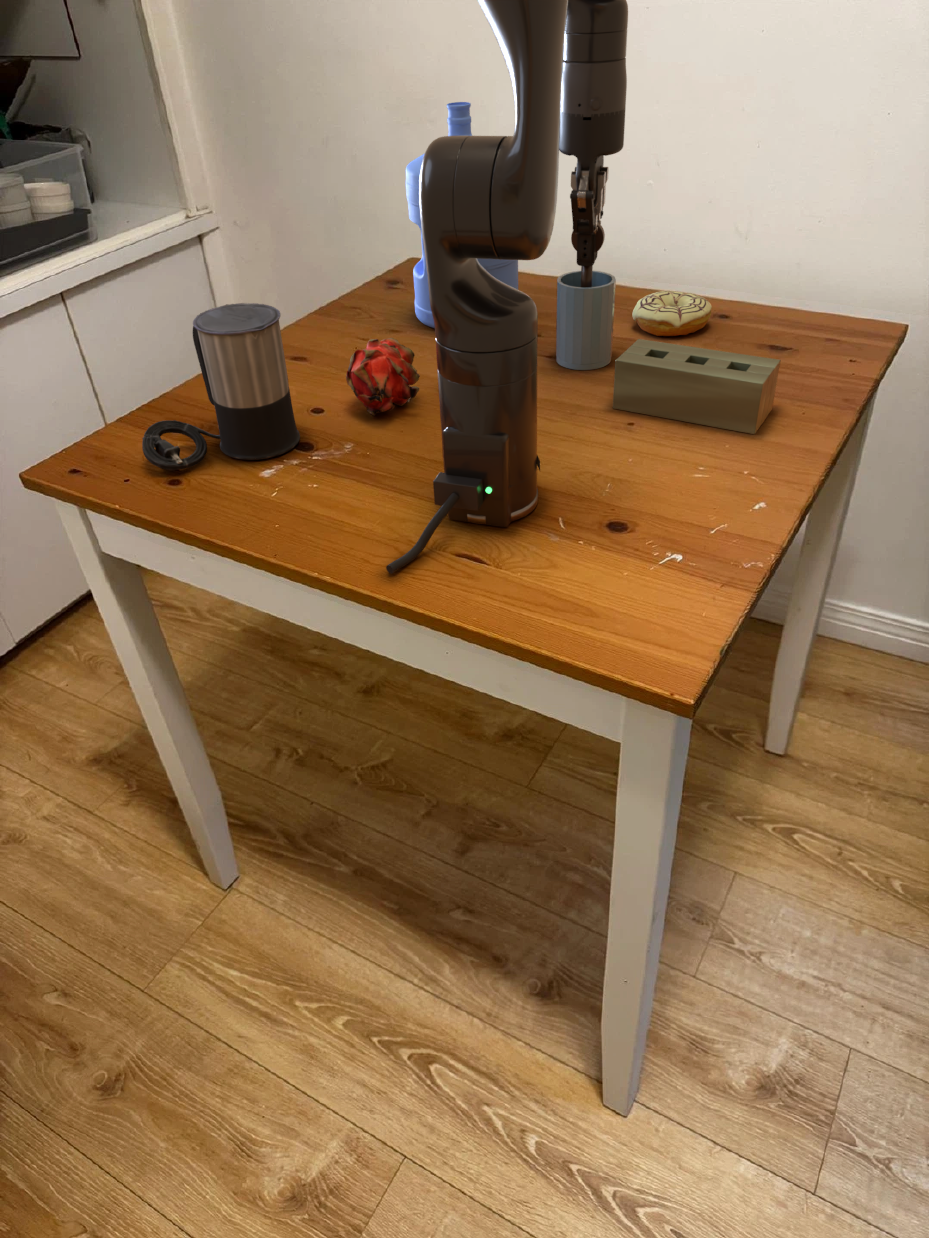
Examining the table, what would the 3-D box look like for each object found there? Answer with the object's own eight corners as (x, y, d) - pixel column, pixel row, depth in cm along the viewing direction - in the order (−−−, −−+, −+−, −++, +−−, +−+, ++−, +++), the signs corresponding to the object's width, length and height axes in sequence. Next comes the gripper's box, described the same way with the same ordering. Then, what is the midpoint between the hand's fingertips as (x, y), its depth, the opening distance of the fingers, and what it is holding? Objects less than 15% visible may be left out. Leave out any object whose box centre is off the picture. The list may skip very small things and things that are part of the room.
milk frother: (317, 435, 107) (298, 308, 98) (225, 495, 96) (193, 359, 87) (226, 413, 113) (200, 292, 104) (130, 467, 102) (92, 338, 93)
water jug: (538, 306, 139) (539, 97, 122) (484, 340, 129) (478, 116, 112) (452, 293, 146) (441, 93, 129) (395, 324, 136) (375, 111, 119)
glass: (604, 372, 118) (608, 290, 112) (549, 367, 120) (550, 286, 114) (616, 352, 123) (621, 272, 117) (563, 347, 125) (565, 269, 119)
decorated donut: (618, 330, 130) (620, 303, 127) (658, 308, 136) (660, 282, 134) (683, 344, 124) (686, 317, 122) (721, 321, 130) (725, 295, 128)
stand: (754, 434, 102) (763, 383, 98) (612, 408, 109) (615, 360, 105) (772, 409, 107) (780, 359, 103) (635, 385, 114) (638, 338, 110)
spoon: (600, 328, 119) (605, 219, 111) (599, 332, 118) (604, 222, 110) (570, 327, 120) (573, 218, 112) (568, 330, 119) (571, 221, 111)
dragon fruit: (398, 394, 119) (389, 448, 111) (340, 361, 116) (326, 414, 108) (432, 345, 114) (425, 398, 105) (373, 309, 111) (361, 360, 102)
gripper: (569, 96, 110) (566, 246, 120) (548, 116, 99) (547, 279, 110) (632, 95, 108) (623, 248, 118) (618, 115, 98) (609, 281, 108)
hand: (586, 262), depth 114 cm, fingers closed on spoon, 1 cm apart
